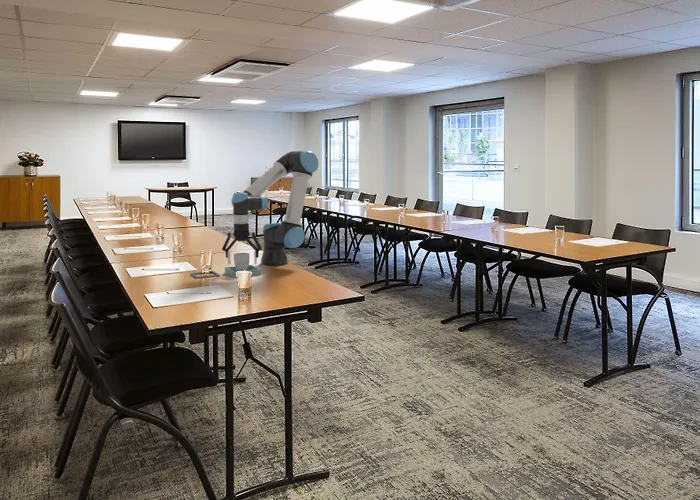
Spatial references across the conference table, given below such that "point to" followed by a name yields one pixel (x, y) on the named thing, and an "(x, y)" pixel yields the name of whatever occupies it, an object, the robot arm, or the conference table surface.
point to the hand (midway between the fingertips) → (242, 264)
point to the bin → (255, 271)
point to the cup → (241, 261)
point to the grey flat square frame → (205, 276)
